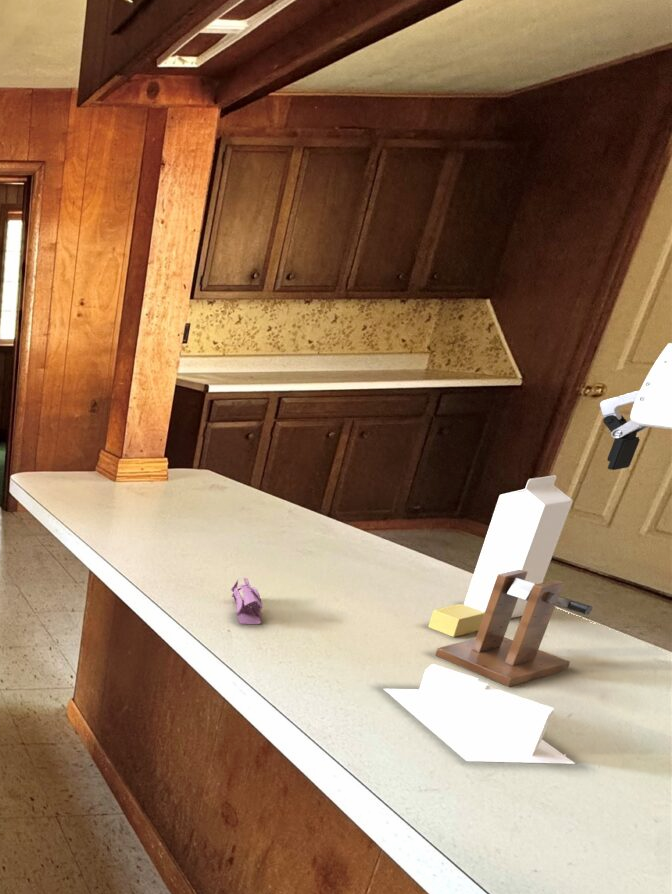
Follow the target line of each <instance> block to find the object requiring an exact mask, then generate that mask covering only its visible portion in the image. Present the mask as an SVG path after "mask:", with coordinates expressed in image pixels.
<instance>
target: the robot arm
mask: <svg viewBox="0 0 672 894" xmlns="http://www.w3.org/2000/svg"><path fill="white" fill-rule="evenodd" d="M630 404H633V405H632V407H631V411H630V415H629V419H630V420H628V421H627V420H626V418H625V417H624V416H623V415H622V414H621V408H622V407H623V406H627V405H630ZM599 407H600V411H601V415H602V416H603V419H602V421H603V422H602V423H603V424H604V425H605V426H606V427H607V428H608V430H609V431H610V432H611V433H610V435H611V437H612V438H614V440H613V443H612V446H611V448H610V451H609V454H608V456H607V462H609V463H608V466H607V470H612V471H616V470H622V469H626V468H629V467H630V466H631V463H632V461H633V459H634V456H635V453H636V450H637V449H638V446H639V443H640V437H639V436H637V435H638V434H639V433H641V432H642V431H644V430H646V429H648V428H656V429H665V430H672V342H669V343H667V344H666V345H665V348H663V350H662V351H661V353H660V354H659V356H658V357H657V359H656V360H655V362H654V364H653V365H652V367H651V368H650V369H649V372H648V373H647V375H646V377H645V379H644V381H643V383H642V385H641V387H640V389H639V390H636V391H632V392H629V393H625V394H622V395H618V396H614V397H611V398H607V399H604V400H601V401H600V402H599Z"/></svg>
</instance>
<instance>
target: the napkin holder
mask: <svg viewBox="0 0 672 894" xmlns="http://www.w3.org/2000/svg"><path fill="white" fill-rule="evenodd" d="M383 690H384V692H386V693H387V694H388V695H390V696H391V698H393V699H394V701H396V702H397V703H399V704H400V705H401V706H402V707H403V708H404V709H406V711H407V712H409V713H410V714H411V715H412V716H414V717H415V718H416V719H417V720H418V721H420V722H421V724H422V725H424V726H425V727H426V728H427V729H428V730H430V731H431V732H432V733H433V734H434V735H436V737H438V738H439V739H440V740H441V741H443V742H444V743H445V744H446V745H447V746H448V747H449V748H451V749H452V750H453V751H454V752H455V753H456V754H458V755H459V756H460V757H461V758H462V759H463V760H465V761H466V762H485V763H486V762H487V763H490V762H491V763H526V764H528V763H529V764H568V765H570V764H571V765H576V762H574V761H573V760H571V759H570V758H569V757H567V756H566V755H567V754H566V753H564V754H563V753H562V752H560V751H559V750H558V749H556V748H555V747H553V746H552V745H551V744H549V743H548V742H547V741H545V740H544V739H543V737H544V735H545V732H546V730H547V729H548V728H547V727H548V725H549V723H550V720H551V718H552V716H553V713H554V711H555V707H552V706H550V705H547V704H543V703H541V702H537V701H534V700H531V699H528V698H526V697H522V696H520V695H516V694H513V693H510V692H508V691H505V690H501V689H498V688H495V687H492V686H490V685H489V683H486V682H483V681H480V678H478V677H475V676H472V675H469V674H465V673H463V672H460V671H457V670H454V669H451V668H449V667H448V668H447V667H445V666H441V665H438V664H436V663H432V664H430V665H429V666H427V668H425V670H424V673H423V676H422V679H421V683H420V685H419V688H383Z"/></svg>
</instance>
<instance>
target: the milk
mask: <svg viewBox="0 0 672 894" xmlns="http://www.w3.org/2000/svg"><path fill="white" fill-rule="evenodd" d="M556 481H557V475H555V474H553V475H548V476H542V477H533V478H528V480H527V482H526V485H525V488H523V489H519V490H515V491H510V492H506V493H502V494H499V496H498V499H497V502H496V504H495V508H494V511H493V513H492V517H491V521H490V523H489V526H488V528H487V529H488V530H487V533H486V535H485V538H484V542H483V544H482V548H481V551H480V554H479V557H478V559H477V563H476V565H475V569H474V572H473V575H472V578H471V580H470V584H469V587H468V590H467V594H466V597H465V600H464V602H463V605H466V606H469V607H472V608H474V609H477V610H480V611H483V612H485V610H486V607H487V604H488V601H489V598H490V596H491V593H492V590H493V587H494V584H495V581H496V578H497V575H498V574H501V573H506V572H510V571H515V570H523V571H527V575H526V578H525V580H526V581H529V582H532V583H536V584H540V583H544V580H545V577H546V574H547V572H548V569H549V566H550V563H551V560H552V558H553V555H554V553H555V550H556V548H557V545H558V542H559V539H560V537H561V534H562V532H563V528H564V526H565V523H566V520H567V518H568V515H569V512H570V510H571V507H572V504H573V502H574V500H573V499H572V498H571V497H569V495H567V494H566V493H565V492H563V491H562V490H561V489H560V488H559V487H557V486H556V485H555V483H556ZM526 604H527V600H524V599H521V598H518V600H517V602H516V605H515V608H514V611H513V613H512V616H511V619H514V618H518V617H522V615H523V612H524V609H525V607H526Z"/></svg>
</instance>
